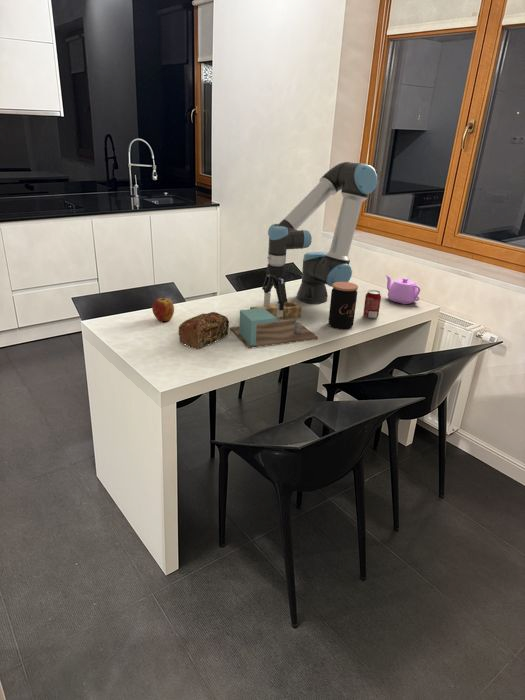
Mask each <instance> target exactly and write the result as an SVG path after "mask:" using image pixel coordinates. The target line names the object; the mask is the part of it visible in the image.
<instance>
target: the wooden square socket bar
mask: <svg viewBox="0 0 525 700" xmlns="http://www.w3.org/2000/svg"><path fill="white" fill-rule="evenodd" d="M257 308H264V309H265V310H267V311H268V312H269V313H270V314H272V315H273V316H274V317H276V316H277V304H270V305H267V306H264V305H260V306H259V305H258V306H251V307H249V309H257ZM301 317H302V306H301V305H299V304H298V303H296V302H295V301H291V300H290V301H287V303H284V309H283V317H276V320H277V319H283V320H293V319H299V318H301Z"/></svg>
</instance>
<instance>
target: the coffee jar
mask: <svg viewBox="0 0 525 700" xmlns="http://www.w3.org/2000/svg"><path fill="white" fill-rule="evenodd" d="M331 288H332V289H331V291H330V292H331V295H330V304H329V312H328V324H329V327H331V328H333V329H335V330H341V331H342V330H343V331H344V330H350V329H352V327H353V325H354V322H355V316H356V315H355V313H356V308H357V307H356V306H357V298H358V289H359V285H357V284H355V283H354V282H350V281H349V282H335V283H333V284H332V287H331Z"/></svg>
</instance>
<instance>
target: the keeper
mask: <svg viewBox="0 0 525 700" xmlns="http://www.w3.org/2000/svg"><path fill="white" fill-rule="evenodd" d="M270 322H277V319H276V317H274V316H273V315H272V314H270V313H269V312H268V311H267V310H265V309H264V308H257V309H250V308H249V309H241V310H240V309H239V323H238V324H239V325H238V326H239V334H240V335H241V336H242V337H243V338H244V339H245V340H246V341H247V342H248V343H249V344H250V345H251V346H252V347H254V345H255V347H256V327H257V324H262V323H270ZM256 348H257V347H256Z"/></svg>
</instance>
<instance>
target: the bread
mask: <svg viewBox="0 0 525 700" xmlns="http://www.w3.org/2000/svg"><path fill="white" fill-rule="evenodd" d="M229 331H230V319H229V318H228V317H227V316H225V315H223V314H221V313H219V312H216V311H213V312H212V311H211V312H207V313H201V314H197V315H195V316H193V317H191V318H188V319H186V320H185V321H183V322H182V323H181V324H179V326H178V339H179V343H181V344H182V343H183V344H182V345H184V344H186V345H188V346H187V347H189V346H190V347H189V348H192V347H193V348H192V349H194V348H196V349H195V350H198V348H199V349H201V348H202V347H207V346H209V345H211V344H214V343H215V341H216V342H218V341H219V339H220V340H221V339H223V338H226V337H228V334H229ZM225 336H226V337H225ZM217 340H218V341H217ZM213 342H214V343H213ZM210 343H211V344H210ZM208 344H209V345H208ZM186 345H185V346H186ZM206 345H207V346H206Z"/></svg>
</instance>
